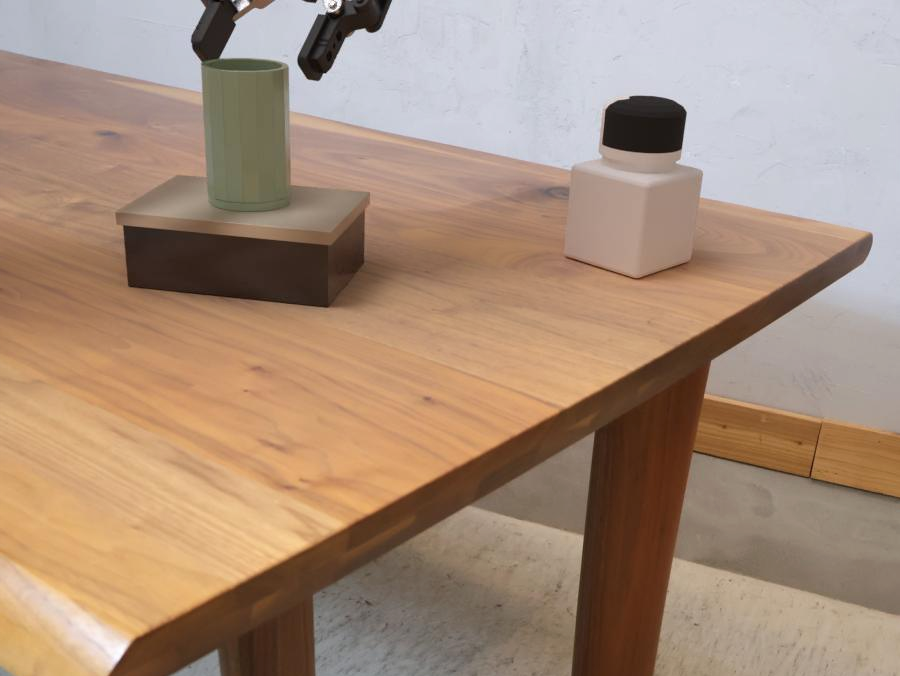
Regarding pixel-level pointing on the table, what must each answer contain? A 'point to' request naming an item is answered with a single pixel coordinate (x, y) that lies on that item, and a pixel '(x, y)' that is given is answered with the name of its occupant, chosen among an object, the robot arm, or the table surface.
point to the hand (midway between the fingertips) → (253, 65)
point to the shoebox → (245, 243)
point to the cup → (247, 133)
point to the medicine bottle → (635, 191)
